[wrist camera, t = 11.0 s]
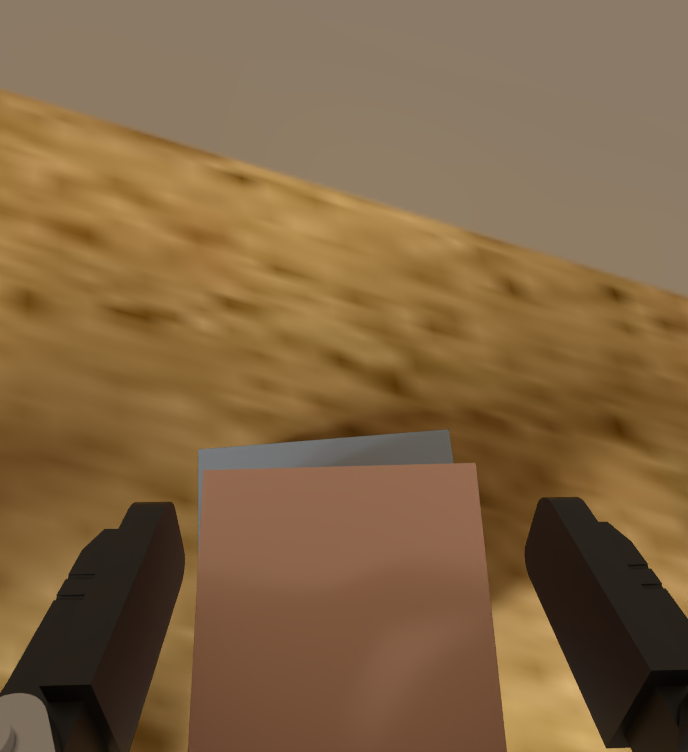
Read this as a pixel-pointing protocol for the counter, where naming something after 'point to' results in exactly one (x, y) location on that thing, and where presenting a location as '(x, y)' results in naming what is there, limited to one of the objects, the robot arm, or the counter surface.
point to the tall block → (344, 612)
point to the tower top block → (330, 454)
